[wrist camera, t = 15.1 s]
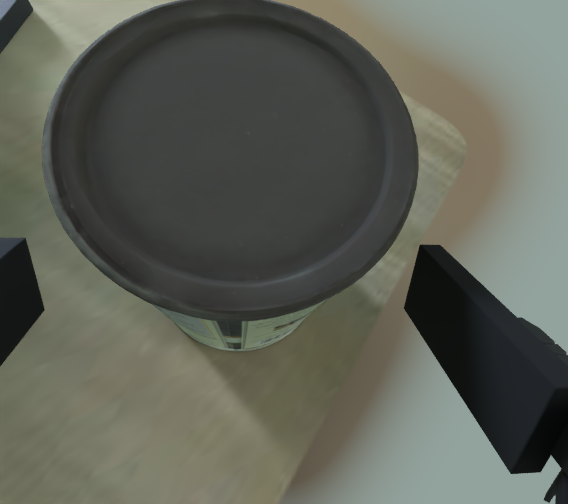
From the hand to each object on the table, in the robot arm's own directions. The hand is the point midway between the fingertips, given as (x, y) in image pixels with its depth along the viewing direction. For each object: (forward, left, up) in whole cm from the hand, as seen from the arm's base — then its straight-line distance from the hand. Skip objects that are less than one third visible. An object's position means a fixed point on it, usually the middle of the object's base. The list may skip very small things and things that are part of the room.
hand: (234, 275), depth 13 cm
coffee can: (+1, -3, -10) cm, 11 cm away
